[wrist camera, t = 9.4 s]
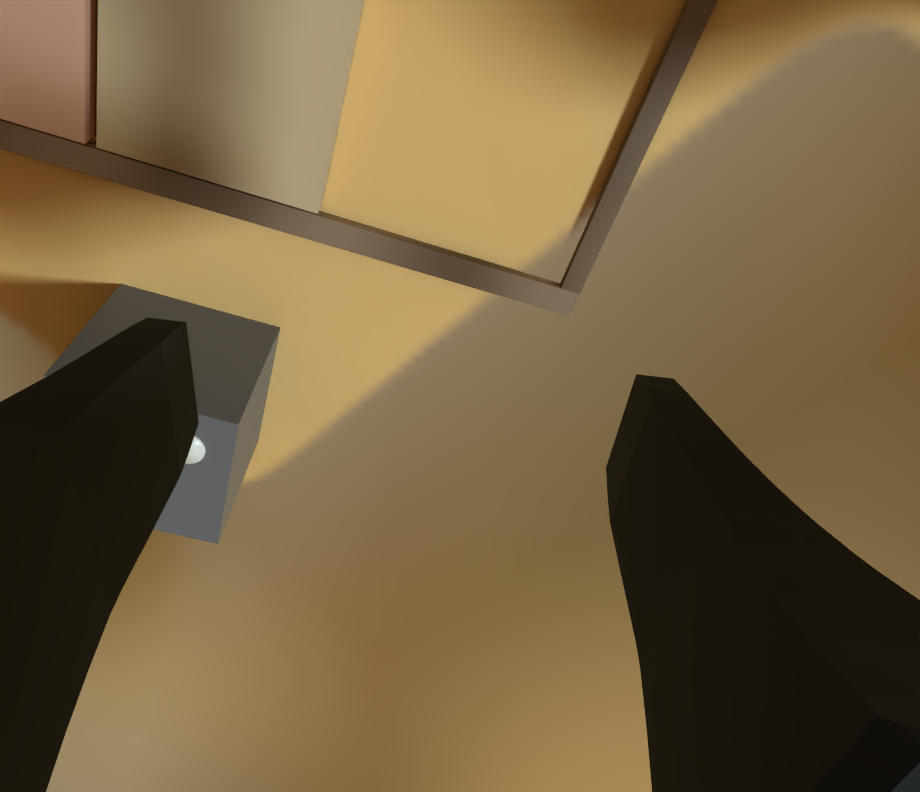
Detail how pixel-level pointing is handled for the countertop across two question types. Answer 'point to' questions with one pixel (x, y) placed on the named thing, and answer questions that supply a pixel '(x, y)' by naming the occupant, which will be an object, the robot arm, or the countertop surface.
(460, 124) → the countertop surface
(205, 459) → the die
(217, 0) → the board
